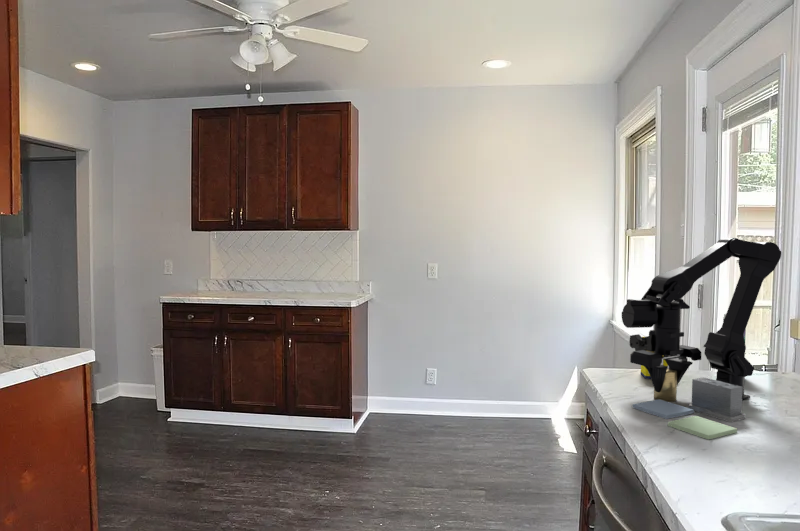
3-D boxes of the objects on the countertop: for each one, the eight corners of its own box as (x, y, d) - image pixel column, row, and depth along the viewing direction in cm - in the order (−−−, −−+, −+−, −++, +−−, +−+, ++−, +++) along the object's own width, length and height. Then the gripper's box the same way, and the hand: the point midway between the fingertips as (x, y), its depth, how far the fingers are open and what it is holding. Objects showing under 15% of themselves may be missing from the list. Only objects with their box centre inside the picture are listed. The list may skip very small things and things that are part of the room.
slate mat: (659, 402, 134) (659, 399, 134) (693, 413, 126) (693, 409, 126) (632, 407, 130) (632, 404, 130) (666, 419, 122) (666, 415, 122)
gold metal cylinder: (663, 395, 140) (663, 367, 140) (681, 400, 136) (681, 371, 135) (649, 397, 138) (649, 369, 138) (667, 402, 133) (667, 373, 133)
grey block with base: (702, 406, 131) (703, 376, 130) (745, 418, 122) (746, 386, 122) (688, 409, 129) (688, 379, 128) (730, 422, 120) (731, 389, 119)
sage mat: (695, 419, 121) (696, 415, 121) (737, 432, 113) (737, 428, 113) (667, 425, 117) (668, 421, 117) (708, 439, 109) (708, 435, 109)
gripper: (664, 320, 147) (662, 378, 148) (612, 325, 139) (611, 387, 140) (703, 326, 137) (701, 389, 138) (651, 331, 129) (649, 398, 130)
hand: (665, 390), depth 137 cm, fingers closed on gold metal cylinder, 5 cm apart
